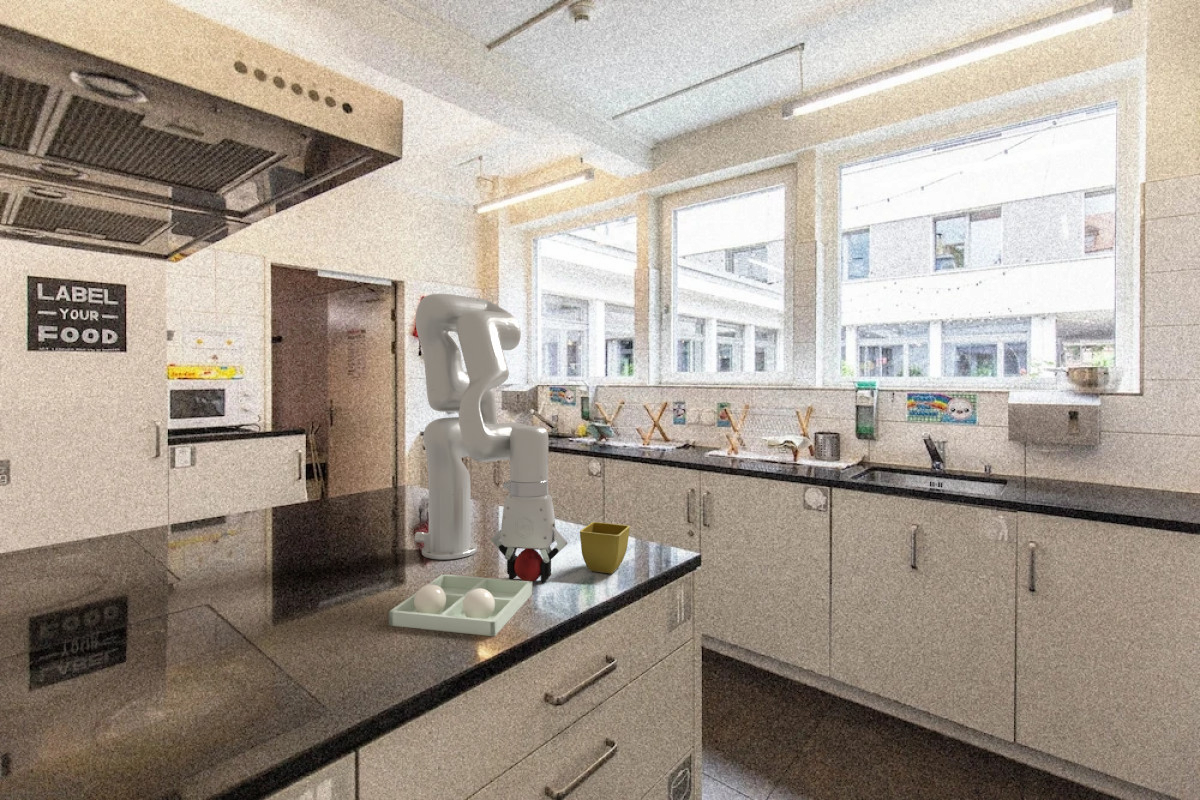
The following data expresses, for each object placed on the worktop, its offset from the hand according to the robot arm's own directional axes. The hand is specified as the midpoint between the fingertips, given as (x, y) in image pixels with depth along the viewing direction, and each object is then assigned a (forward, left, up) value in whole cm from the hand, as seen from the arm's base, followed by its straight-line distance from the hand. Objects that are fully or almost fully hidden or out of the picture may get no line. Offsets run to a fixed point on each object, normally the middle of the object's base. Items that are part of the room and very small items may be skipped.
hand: (529, 578), depth 113 cm
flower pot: (+13, +12, -1) cm, 18 cm away
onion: (0, 0, -1) cm, 1 cm away
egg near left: (-10, -20, 0) cm, 23 cm away
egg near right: (-2, -20, 0) cm, 20 cm away
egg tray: (-6, -16, -1) cm, 17 cm away
